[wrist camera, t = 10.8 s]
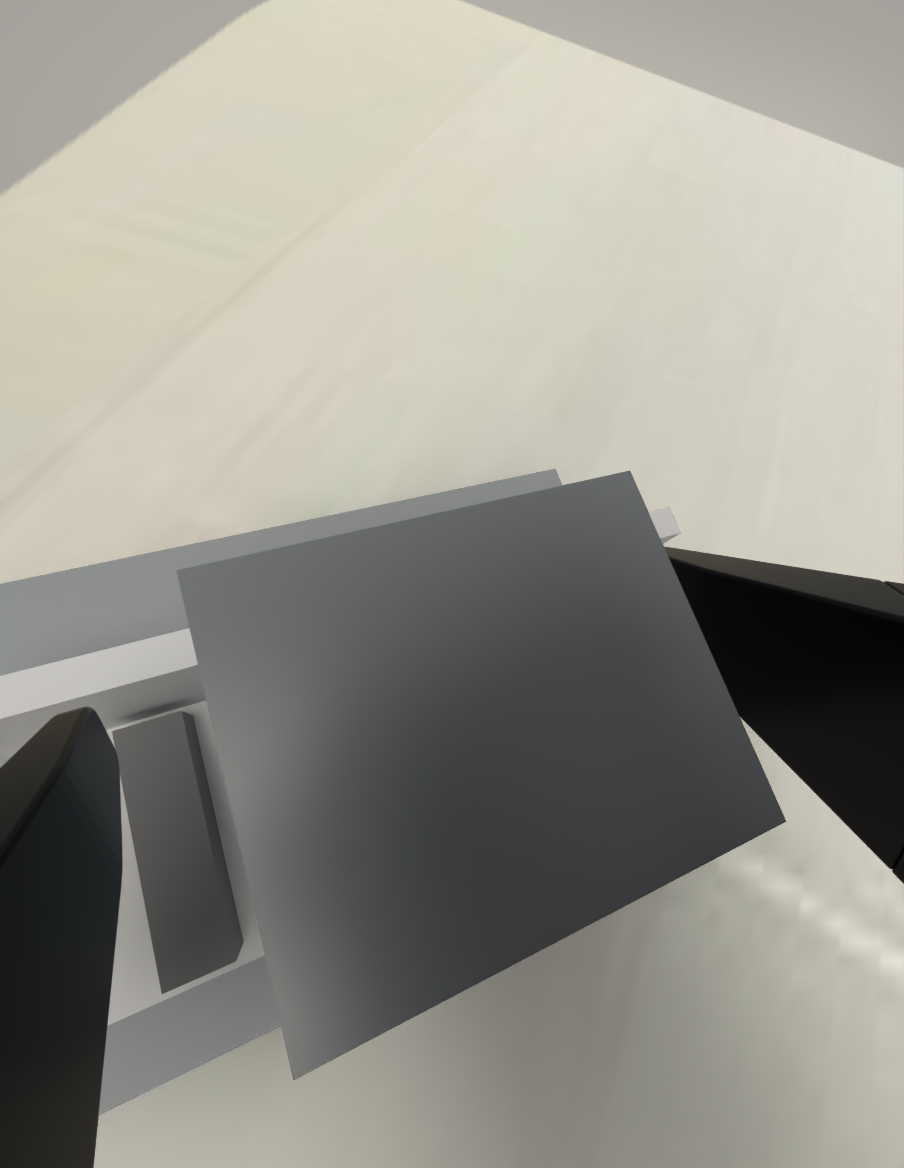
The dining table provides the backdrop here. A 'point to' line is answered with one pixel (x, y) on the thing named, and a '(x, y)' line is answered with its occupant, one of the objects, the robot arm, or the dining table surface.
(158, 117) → the dining table surface
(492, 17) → the dining table surface
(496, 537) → the block
